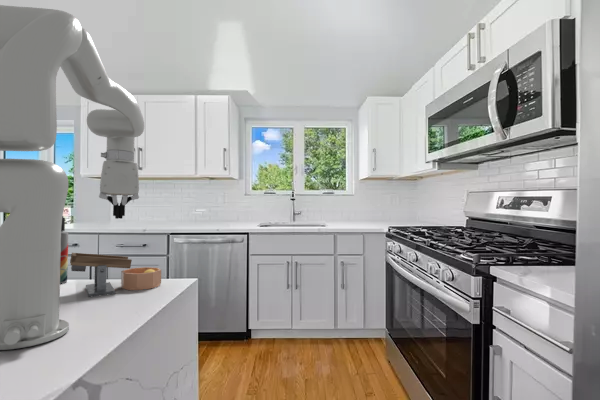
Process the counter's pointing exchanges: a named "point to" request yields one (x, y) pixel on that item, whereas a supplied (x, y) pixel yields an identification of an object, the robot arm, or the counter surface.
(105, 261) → the tilt chute
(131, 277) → the terracotta bowl
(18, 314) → the robot arm
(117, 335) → the counter surface
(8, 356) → the counter surface
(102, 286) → the chute stand
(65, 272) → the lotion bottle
